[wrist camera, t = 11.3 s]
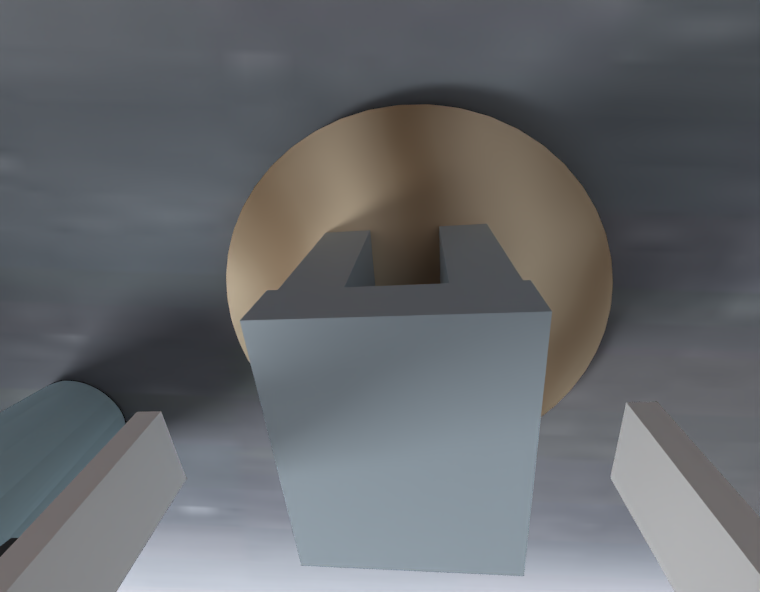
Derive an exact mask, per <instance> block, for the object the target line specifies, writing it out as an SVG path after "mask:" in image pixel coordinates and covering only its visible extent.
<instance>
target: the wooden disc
mask: <svg viewBox="0 0 760 592" xmlns="http://www.w3.org/2000/svg"><path fill="white" fill-rule="evenodd" d="M472 224H487V225H488V226H489V228H490V229H491V231H492V233H493V234H494V236H495V237H496V239H497V240H498V242H499V244H500V245H501V247H502V248H503V250H504V251H505V253H506V255H507V256H508V258H509V259H510V261H511V262H512V264H513V265H514V267H515V269H516V270H517V272H518V273H519V275H520V276H521V278H522V280H531V281H532V283H533V284H534V286H535V287H536V289H537V290H538V292H539V293H540V295H541V296H542V297H543V299H544V300H545V302H546V303H547V305H548V306H549V308H550V309H551V311H552V317H551V326H550V336H549V345H548V355H547V364H546V373H545V383H544V392H543V401H542V411H541V417H542V416H543V415H544V414H545V413H547V412H548V411H549V410H550V409H552V408H553V407H554V406H555V405H556V404H557V403H558V402H559V401H560V400H561V399H562V398H563V397H564V396H565V395H566V394H567V393H568V392H569V391H570V390H571V389H572V388H573V387H574V385H575V384H576V383H577V381H578V380H579V379H580V377H581V376H582V375H583V374H584V372H585V371H586V369H587V367H588V365H589V364H590V362H591V360H592V359H593V357H594V355H595V353H596V351H597V349H598V347H599V344H600V342H601V339H602V337H603V334H604V332H605V328H606V324H607V320H608V316H609V312H610V308H611V299H612V288H613V277H612V260H611V255H610V250H609V246H608V241H607V236H606V233H605V230H604V228H603V225H602V223H601V220H600V218H599V215H598V212H597V210H596V208H595V206H594V205H593V203H592V201H591V200H590V198H589V196H588V194H587V193H586V191H585V189H584V188H583V186H582V185H581V184H580V182H579V181H578V180H577V179H576V178H575V176H574V175H573V174H572V173H571V171H570V170H569V169H568V168H567V167H566V165H565V164H564V163H563V162H561V161H560V160H559V159H558V158H557V157H556V156H555V155H554V154H552V153H551V152H550V151H549V150H548V149H547V148H546V147H545V146H543V145H542V144H540V143H539V142H537V141H536V140H534V139H533V138H531V137H530V136H528V135H526V134H525V133H523V132H522V131H520V130H519V129H517V128H515V127H512V126H510V125H508V124H506V123H503V122H501V121H499V120H497V119H495V118H492V117H490V116H487V115H483V114H479V113H476V112H472V111H469V110H465V109H461V108H455V107H447V106H439V105H431V104H419V105H395V106H389V107H383V108H377V109H371V110H367V111H364V112H361V113H357V114H354V115H351V116H348V117H345V118H342V119H339V120H337V121H335V122H333V123H331V124H329V125H327V126H325V127H323V128H321V129H319V130H317V131H315V132H313V133H312V134H310V135H309V136H307V137H306V138H304V139H303V140H301V141H300V142H299V143H297V144H296V145H294V146H293V147H291V148H290V149H289V150H288V151H287V152H286V153H285V154H284V155H283V156H282V157H280V158H279V159H278V160H277V161H276V162H275V163H274V164H273V165H272V166H271V167H270V168H269V170H268V171H267V172H266V173H265V175H264V176H263V177H262V178H261V180H260V181H259V182H258V183H257V185H256V186H255V187H254V189H253V191H252V193H251V194H250V196H249V198H248V199H247V201H246V203H245V205H244V206H243V208H242V211H241V213H240V216H239V218H238V221H237V223H236V226H235V228H234V231H233V235H232V239H231V243H230V248H229V252H228V261H227V272H226V283H227V299H228V304H229V310H230V315H231V320H232V323H233V326H234V329H235V332H236V335H237V338H238V340H239V342H240V345H241V347H242V349H243V351H244V353H245V355H246V357H247V359H248V361H249V362H250V360H249V356H248V352H247V348H246V344H245V340H244V336H243V332H242V328H241V324H240V320H241V319H242V318H243V316H244V315H245V314H246V313H247V312H248V311H249V310H250V309H251V307H252V306H253V305H254V304H255V303H256V302H257V301H258V300H259V299H260V297H261V296H262V295H263V294H264V293H265V292H266V291H267V290H278V289H279V288H280V287H281V285H282V284H283V283H284V282H285V281H286V279H287V278H288V277H289V276H290V275H291V273H292V272H293V271H294V270H295V269H296V267H297V266H298V265H299V264H300V263H301V261H302V260H303V259H304V258H305V257H306V256H307V254H308V253H309V252H310V251H311V250H312V248H313V247H314V246H315V245H316V244H317V242H318V241H319V240H320V239H321V238H322V236H323V235H324V234H325V233H328V232H346V231H364V230H370V234H371V245H372V256H373V267H374V278H375V286H391V285H416V284H440V243H439V226H454V225H472Z"/></svg>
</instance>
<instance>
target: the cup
mask: <svg viewBox="0 0 760 592" xmlns="http://www.w3.org/2000/svg"><path fill="white" fill-rule="evenodd" d="M124 425H125V420H124V417H123V415H122V413H121V411H120V409H119V408H118V407H117V405H116V404H115V403H114V402H113V401H112V400H111V399H110V398H109V397H108V396H107V395H105V394H104V393H103V392H101V391H100V390H98V389H96V388H94V387H92V386H90V385H87V384H85V383H81V382H76V381H60V382H56V383H53V384H51V385H49V386H47V387H45V388H43V389H41V390H39V391H38V392H36V393H34V394H32V395H30V396H29V397H27V398H25V399H23V400H22V401H20V402H18V403H16V404H15V405H13V406H11V407H9V408H7V409H6V410H4V411H2V412H0V546H1V545H2V544H4V543H5V542H6V541H8V540H9V539H10V538H19V537H20V536H21V535H22V534H23V532H24V531H25V530H26V529H27V528H28V527H29V526H30V525H31V524H32V523H33V522H34V521H35V520H36V519H37V518H38V517H39V515H40V514H41V513H42V512H43V511H44V510H45V509H46V508H47V507H48V506H49V505H50V504H51V503H52V502H53V501H54V499H55V498H56V497H57V496H58V495H59V494H60V493H61V492H62V491H63V490H64V489H65V488H66V487H67V486H68V485H69V484H70V482H71V481H72V480H73V479H74V478H75V477H76V476H77V475H78V474H79V473H80V472H81V471H82V470H83V469H84V468H85V467H86V465H87V464H88V463H89V462H90V461H91V460H92V459H93V458H94V457H95V456H96V455H97V454H98V453H99V452H100V451H101V449H102V448H103V447H104V446H105V445H106V444H107V443H108V442H109V441H110V440H111V439H112V438H113V437H114V436H115V435H116V434H117V432H118V431H119V430H120V429H121V428H122V427H123V426H124Z"/></svg>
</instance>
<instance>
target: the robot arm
mask: <svg viewBox="0 0 760 592" xmlns="http://www.w3.org/2000/svg"><path fill="white" fill-rule="evenodd" d="M610 478H611V480H612V482H613V483H614V485H615V487H616V489H617V490H618V492H619V494H620V496H621V497H622V499H623V501H624V503H625V505H626V506H627V508H628V510H629V512H630V513H631V515H632V517H633V519H634V520H635V522H636V524H637V526H638V528H639V529H640V531H641V533H642V535H643V536H644V538H645V540H646V542H647V543H648V545H649V547H650V549H651V551H652V552H653V554H654V556H655V558H656V559H657V561H658V563H659V565H660V566H661V568H662V570H663V572H664V573H665V575H666V577H667V579H668V581H669V582H670V584H671V586H672V588H673V589H674V591H675V592H760V517H759V516H758V515H757V514H756V513H755V512H754V511H753V509H752V508H751V507H750V506H749V505H748V504H747V503H746V501H745V500H744V499H743V498H742V497H741V496H740V495H739V494H738V492H737V491H736V490H735V489H734V488H733V487H732V486H731V485H730V483H729V482H728V481H727V480H726V479H725V478H724V477H723V476H722V474H721V473H720V472H719V471H718V470H717V469H716V468H715V467H714V465H713V464H712V463H711V462H710V461H709V460H708V459H707V458H706V456H705V455H704V454H703V453H702V452H701V451H700V450H699V448H698V447H697V446H696V445H695V444H694V443H693V442H692V441H691V439H690V438H689V437H688V436H687V435H686V434H685V433H684V432H683V430H682V429H681V428H680V427H679V426H678V425H677V424H676V423H675V421H674V420H673V419H672V418H671V417H670V416H669V415H668V414H667V412H666V411H665V410H664V409H663V408H662V407H661V406H660V405H659V403H658V402H626V406H625V411H624V416H623V420H622V425H621V430H620V435H619V439H618V444H617V449H616V454H615V458H614V463H613V468H612V473H611V477H610ZM186 479H187V478H186V476H185V473H184V470H183V468H182V465H181V462H180V460H179V457H178V455H177V452H176V449H175V447H174V444H173V441H172V439H171V436H170V433H169V431H168V428H167V425H166V423H165V420H164V418H163V415H162V412H161V411H149V412H136V413H135V414H134V415H133V417H132V418H131V419H130V420H129V421H128V422H127V423H126V424H125V425H124V426H123V427H122V428H121V429H120V430H119V431H118V432H117V434H116V435H115V436H114V437H113V438H112V439H111V440H110V441H109V442H108V443H107V444H106V445H105V446H104V447H103V448H102V449H101V451H100V452H99V453H98V454H97V455H96V456H95V457H94V458H93V459H92V460H91V461H90V462H89V463H88V464H87V465H86V467H85V468H84V469H83V470H82V471H81V472H80V473H79V474H78V475H77V476H76V477H75V478H74V479H73V480H72V481H71V482H70V484H69V485H68V486H67V487H66V488H65V489H64V490H63V491H62V492H61V493H60V494H59V495H58V496H57V497H56V498H55V499H54V501H53V502H52V503H51V504H50V505H49V506H48V507H47V508H46V509H45V510H44V511H43V512H42V513H41V514H40V515H39V517H38V518H37V519H36V520H35V521H34V522H33V523H32V524H31V525H30V526H29V527H28V528H27V529H26V530H25V531H24V532H23V534H22V535H21V536H20V537H19V538H10V539H9V540H8V541H6V542H5V543H4V544H2V545H1V546H0V592H116V591H117V590H118V588H119V587H120V585H121V583H122V582H123V580H124V579H125V577H126V575H127V574H128V572H129V571H130V569H131V567H132V566H133V564H134V563H135V561H136V559H137V558H138V556H139V555H140V553H141V551H142V550H143V548H144V547H145V545H146V543H147V542H148V540H149V539H150V537H151V535H152V534H153V532H154V530H155V529H156V527H157V526H158V524H159V522H160V521H161V519H162V518H163V516H164V514H165V513H166V511H167V510H168V508H169V506H170V505H171V503H172V502H173V500H174V498H175V497H176V495H177V494H178V492H179V490H180V489H181V487H182V486H183V484H184V482H185V481H186Z"/></svg>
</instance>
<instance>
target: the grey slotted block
mask: <svg viewBox="0 0 760 592" xmlns="http://www.w3.org/2000/svg"><path fill="white" fill-rule="evenodd" d="M439 243H440V284H416V285H391V286H375V278H374V267H373V256H372V245H371V234H370V230H364V231H346V232H328V233H325V234H324V235H323V236H322V238H321V239H320V240H319V241H318V242H317V244H316V245H315V246H314V247H313V248H312V250H311V251H310V252H309V253H308V254H307V256H306V257H305V258H304V259H303V260H302V261H301V263H300V264H299V265H298V266H297V267H296V269H295V270H294V271H293V272H292V273H291V275H290V276H289V277H288V278H287V279H286V281H285V282H284V283H283V284H282V285H281V287H280V288H279V289H278V290H267V291H266V292H265V293H264V294H263V295H262V296H261V297H260V299H259V300H258V301H257V302H256V303H255V304H254V305H253V306H252V307H251V309H250V310H249V311H248V312H247V313H246V314H245V315H244V316H243V318H242V319H241V320H240V324H241V328H242V332H243V336H244V340H245V344H246V348H247V352H248V356H249V360H250V364H251V368H252V372H253V375H254V379H255V383H256V387H257V391H258V395H259V399H260V403H261V407H262V411H263V415H264V419H265V423H266V427H267V431H268V435H269V439H270V443H271V447H272V451H273V455H274V459H275V463H276V467H277V471H278V475H279V479H280V483H281V487H282V491H283V495H284V499H285V502H286V506H287V510H288V514H289V518H290V522H291V526H292V530H293V534H294V538H295V542H296V546H297V550H298V554H299V558H300V562H301V566H319V567H340V568H362V569H383V570H404V571H425V572H447V573H468V574H489V575H510V576H524V570H525V561H526V551H527V542H528V533H529V523H530V514H531V505H532V495H533V486H534V476H535V467H536V458H537V448H538V439H539V430H540V420H541V411H542V401H543V392H544V383H545V373H546V364H547V355H548V345H549V336H550V326H551V317H552V311H551V309H550V308H549V306H548V305H547V303H546V302H545V300H544V299H543V297H542V296H541V295H540V293H539V292H538V290H537V289H536V287H535V286H534V284H533V283H532V281H531V280H522V278H521V276H520V275H519V273H518V272H517V270H516V269H515V267H514V265H513V264H512V262H511V261H510V259H509V258H508V256H507V255H506V253H505V251H504V250H503V248H502V247H501V245H500V244H499V242H498V240H497V239H496V237H495V236H494V234H493V233H492V231H491V229H490V228H489V226H488V225H487V224H472V225H454V226H439Z"/></svg>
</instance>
